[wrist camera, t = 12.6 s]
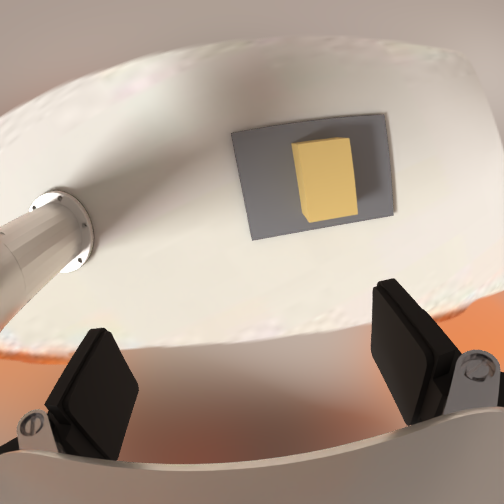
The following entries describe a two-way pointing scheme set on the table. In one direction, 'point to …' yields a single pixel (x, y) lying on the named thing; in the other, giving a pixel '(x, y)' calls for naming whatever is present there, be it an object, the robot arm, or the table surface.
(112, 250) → the table surface
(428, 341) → the robot arm
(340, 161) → the box
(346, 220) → the mat
